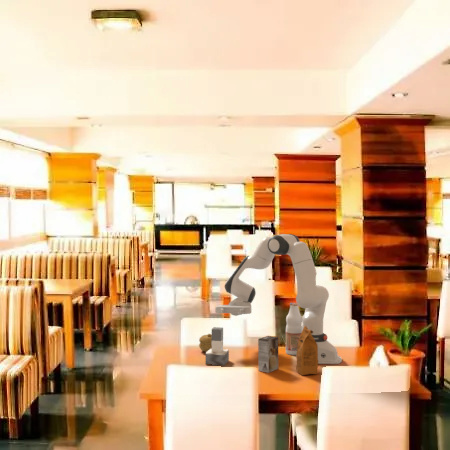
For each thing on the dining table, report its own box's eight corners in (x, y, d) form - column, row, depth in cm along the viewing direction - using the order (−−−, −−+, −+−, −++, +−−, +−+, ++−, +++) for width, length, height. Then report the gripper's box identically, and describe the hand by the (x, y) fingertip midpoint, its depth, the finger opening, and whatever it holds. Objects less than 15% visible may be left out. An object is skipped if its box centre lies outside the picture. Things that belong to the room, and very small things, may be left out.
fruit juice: (282, 353, 313) (282, 303, 312) (292, 350, 319) (293, 301, 319) (295, 356, 306) (295, 305, 305) (306, 353, 312) (306, 303, 312)
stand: (228, 360, 296) (228, 349, 296) (224, 365, 287) (224, 354, 287) (210, 359, 299) (210, 348, 299) (205, 364, 289) (205, 353, 289)
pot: (223, 350, 318) (223, 333, 318) (212, 355, 308) (212, 337, 308) (206, 348, 324) (206, 330, 324) (194, 352, 315) (194, 334, 314)
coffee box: (268, 366, 285) (268, 335, 285) (278, 368, 281) (278, 337, 281) (257, 370, 278) (258, 338, 278) (268, 373, 274) (268, 340, 274)
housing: (223, 350, 294) (223, 327, 294) (220, 352, 290) (220, 329, 289) (213, 349, 296) (213, 327, 295) (211, 352, 291) (211, 329, 290)
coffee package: (313, 368, 282) (314, 325, 281) (319, 375, 269) (319, 330, 269) (294, 369, 281) (294, 325, 281) (299, 376, 269) (299, 330, 268)
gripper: (218, 301, 321) (212, 305, 308) (253, 302, 317) (248, 305, 303) (218, 312, 321) (212, 317, 308) (253, 313, 317) (249, 317, 303)
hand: (230, 311), depth 305 cm, fingers open, 8 cm apart
